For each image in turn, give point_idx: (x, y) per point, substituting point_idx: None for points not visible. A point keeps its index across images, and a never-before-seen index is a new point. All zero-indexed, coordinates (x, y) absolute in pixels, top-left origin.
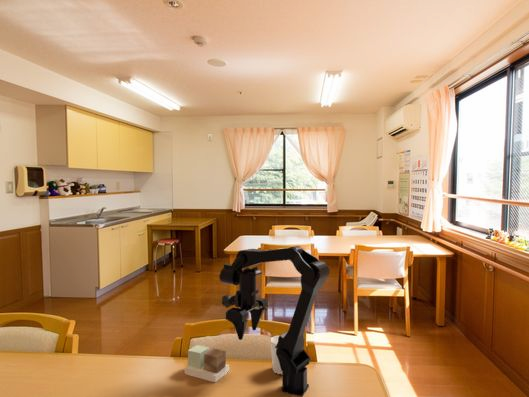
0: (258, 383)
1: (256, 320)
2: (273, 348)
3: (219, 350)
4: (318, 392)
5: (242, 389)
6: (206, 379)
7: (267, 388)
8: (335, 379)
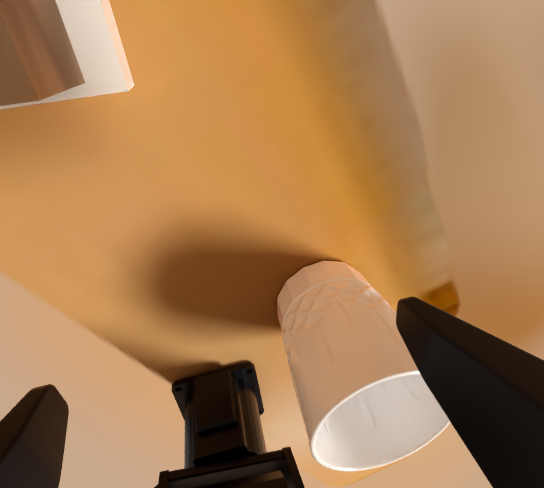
0: (156, 296)
1: (487, 451)
2: (307, 388)
3: None
4: None
5: (54, 279)
6: None
7: (152, 340)
8: None
